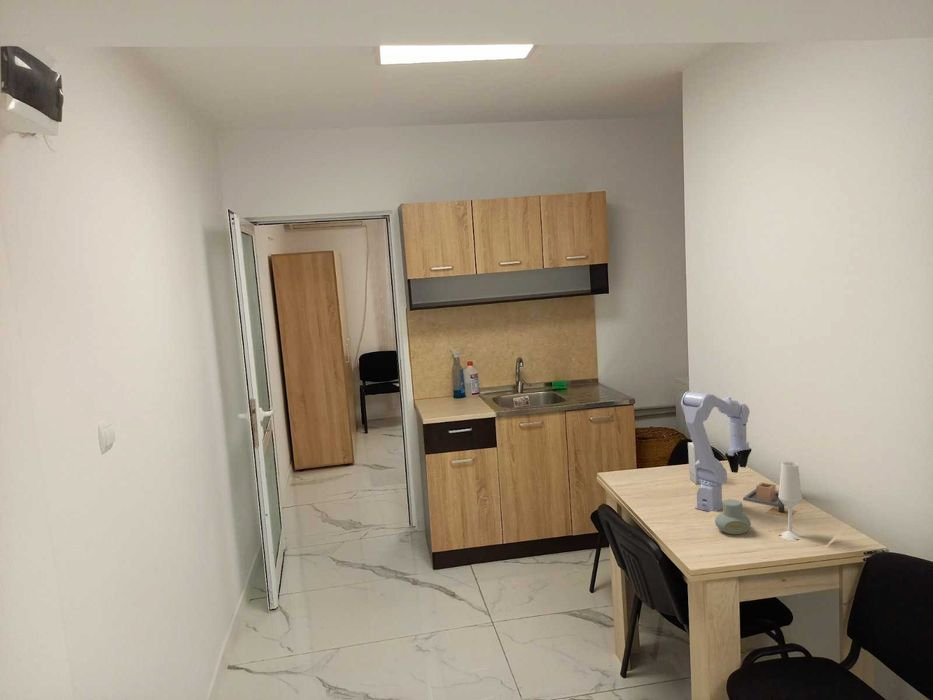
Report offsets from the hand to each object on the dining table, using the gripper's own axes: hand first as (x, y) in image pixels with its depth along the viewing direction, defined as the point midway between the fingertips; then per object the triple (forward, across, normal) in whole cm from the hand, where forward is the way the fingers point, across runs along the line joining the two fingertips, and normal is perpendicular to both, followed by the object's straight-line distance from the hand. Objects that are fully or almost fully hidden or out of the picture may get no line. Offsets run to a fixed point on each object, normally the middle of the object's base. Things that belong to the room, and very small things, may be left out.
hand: (738, 469), depth 251 cm
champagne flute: (+10, -28, -28) cm, 41 cm away
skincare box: (+10, +7, +19) cm, 23 cm away
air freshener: (+10, -34, -12) cm, 37 cm away
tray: (+10, 0, -10) cm, 14 cm away
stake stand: (+10, -10, -19) cm, 24 cm away
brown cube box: (+9, 0, -10) cm, 14 cm away
